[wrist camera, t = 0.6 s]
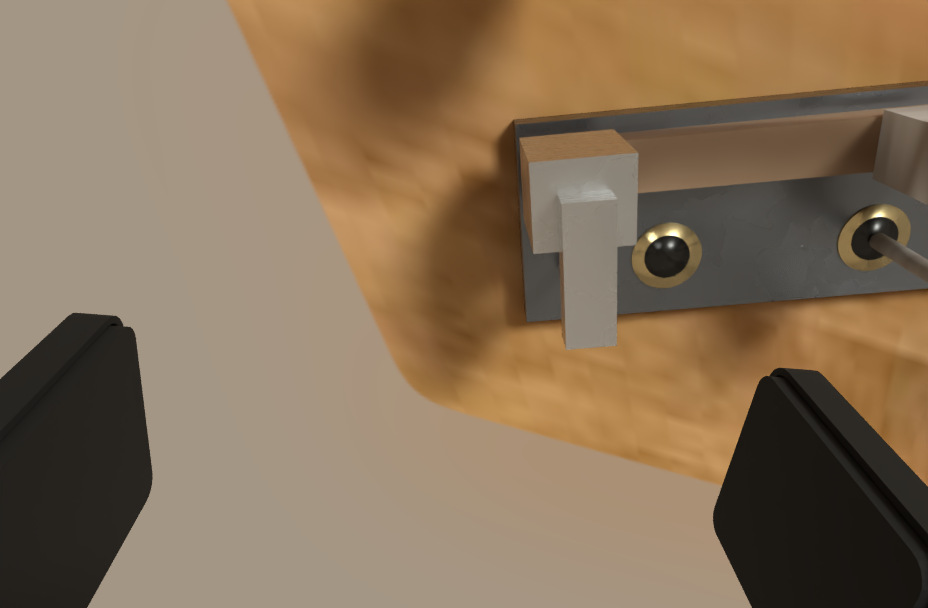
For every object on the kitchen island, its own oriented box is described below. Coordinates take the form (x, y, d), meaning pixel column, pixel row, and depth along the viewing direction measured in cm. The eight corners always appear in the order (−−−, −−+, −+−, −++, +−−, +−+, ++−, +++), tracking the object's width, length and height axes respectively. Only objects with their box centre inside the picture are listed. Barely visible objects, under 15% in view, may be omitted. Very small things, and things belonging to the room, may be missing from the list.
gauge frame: (965, 239, 33) (1099, 306, 26) (534, 276, 34) (553, 352, 27) (1001, 90, 30) (1162, 122, 23) (527, 134, 31) (546, 178, 24)
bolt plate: (948, 275, 35) (966, 286, 34) (524, 311, 36) (527, 323, 34) (996, 74, 31) (1018, 78, 29) (513, 119, 31) (515, 125, 30)
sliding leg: (606, 274, 33) (642, 343, 27) (525, 281, 33) (540, 352, 27) (606, 122, 30) (646, 160, 24) (516, 131, 30) (532, 171, 24)
